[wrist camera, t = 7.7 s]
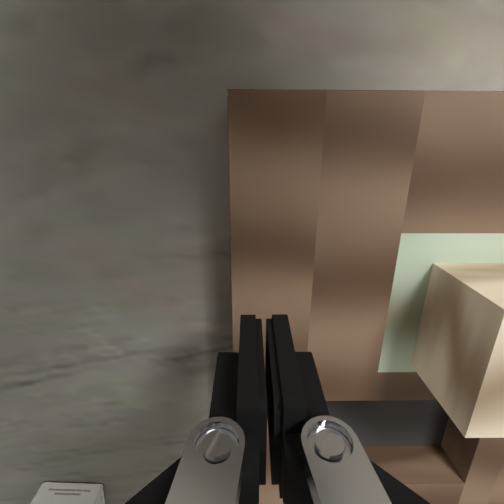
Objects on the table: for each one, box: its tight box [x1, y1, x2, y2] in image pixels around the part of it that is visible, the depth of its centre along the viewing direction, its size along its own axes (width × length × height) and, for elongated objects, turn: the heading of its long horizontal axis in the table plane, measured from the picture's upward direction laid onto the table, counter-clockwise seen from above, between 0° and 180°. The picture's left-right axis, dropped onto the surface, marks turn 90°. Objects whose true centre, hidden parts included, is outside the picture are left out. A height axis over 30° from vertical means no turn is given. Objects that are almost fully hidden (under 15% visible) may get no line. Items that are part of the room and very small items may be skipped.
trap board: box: [228, 89, 504, 504], centre depth 18 cm, size 26×24×3 cm
